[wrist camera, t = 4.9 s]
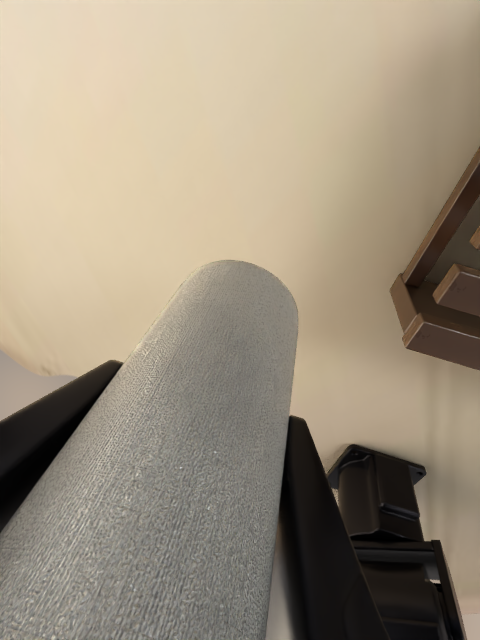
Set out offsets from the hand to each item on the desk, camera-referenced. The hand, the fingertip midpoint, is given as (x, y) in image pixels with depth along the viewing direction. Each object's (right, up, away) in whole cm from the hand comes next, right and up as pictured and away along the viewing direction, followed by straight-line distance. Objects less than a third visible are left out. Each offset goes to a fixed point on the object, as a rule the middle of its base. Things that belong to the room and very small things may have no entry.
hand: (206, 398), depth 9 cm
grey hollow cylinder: (+1, +2, +3) cm, 4 cm away
